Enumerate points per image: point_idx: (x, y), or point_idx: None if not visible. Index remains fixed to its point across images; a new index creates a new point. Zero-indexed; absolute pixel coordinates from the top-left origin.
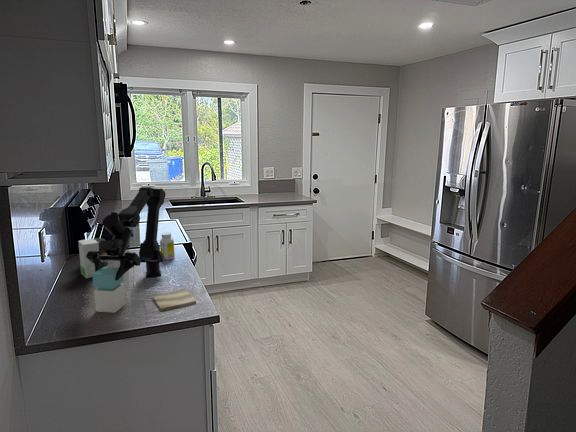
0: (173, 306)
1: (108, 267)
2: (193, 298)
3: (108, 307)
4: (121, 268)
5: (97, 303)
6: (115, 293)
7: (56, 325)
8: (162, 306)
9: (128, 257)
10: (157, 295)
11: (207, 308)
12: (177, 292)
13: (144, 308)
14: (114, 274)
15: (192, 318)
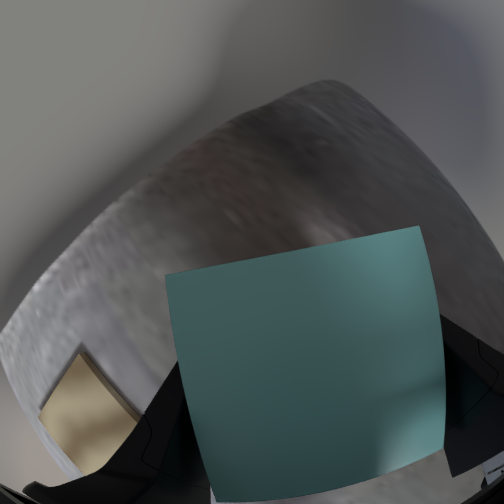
0: (62, 379)
1: (388, 462)
2: (50, 434)
3: None
4: (134, 434)
5: None
6: None
7: (367, 149)
8: (83, 372)
9: (3, 502)
10: None
11: (13, 382)
12: None
13: (148, 366)
14: (180, 338)
15: (13, 320)
